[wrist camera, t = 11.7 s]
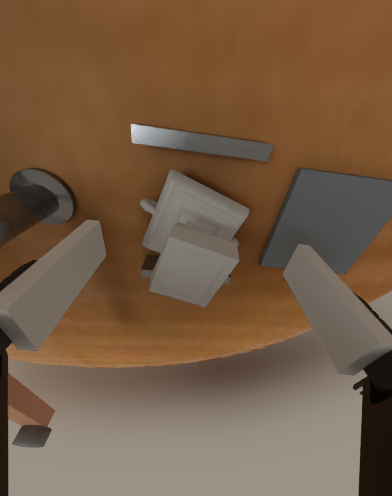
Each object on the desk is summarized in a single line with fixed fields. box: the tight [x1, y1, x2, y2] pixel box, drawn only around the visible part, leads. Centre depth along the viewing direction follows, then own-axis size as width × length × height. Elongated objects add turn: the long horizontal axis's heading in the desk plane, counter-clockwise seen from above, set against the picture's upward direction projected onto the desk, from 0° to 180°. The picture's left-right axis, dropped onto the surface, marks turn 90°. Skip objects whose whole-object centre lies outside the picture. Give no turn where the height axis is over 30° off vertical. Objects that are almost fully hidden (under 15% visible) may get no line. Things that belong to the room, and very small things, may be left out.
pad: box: [259, 168, 392, 274], centre depth 17 cm, size 10×10×1 cm
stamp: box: [140, 169, 249, 307], centre depth 13 cm, size 9×7×8 cm
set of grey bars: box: [0, 124, 273, 284], centre depth 12 cm, size 20×13×10 cm, turn 83°
